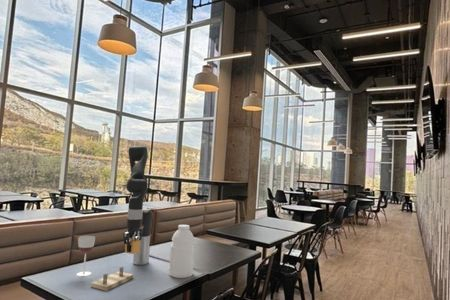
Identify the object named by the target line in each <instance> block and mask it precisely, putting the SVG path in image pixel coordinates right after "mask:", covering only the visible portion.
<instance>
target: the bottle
mask: <svg viewBox="0 0 450 300" xmlns="http://www.w3.org/2000/svg"><path fill="white" fill-rule="evenodd" d="M171 241H172V243H171V244H170V255H169V268H168V274H169V276H170V277H173V278H177V279H178V278H179V279H184V278H185V279H186V278H189V277H192V276H193V274H194V261H195V260H194V259H195V248H196V247H195V246H196V245H194V243H193V242H195V237H194V235H193V233H192V231H191V230H190V225H189V224H178V226H177V230H176V231H175V232H174V233H173V235H172V237H171Z"/></svg>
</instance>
